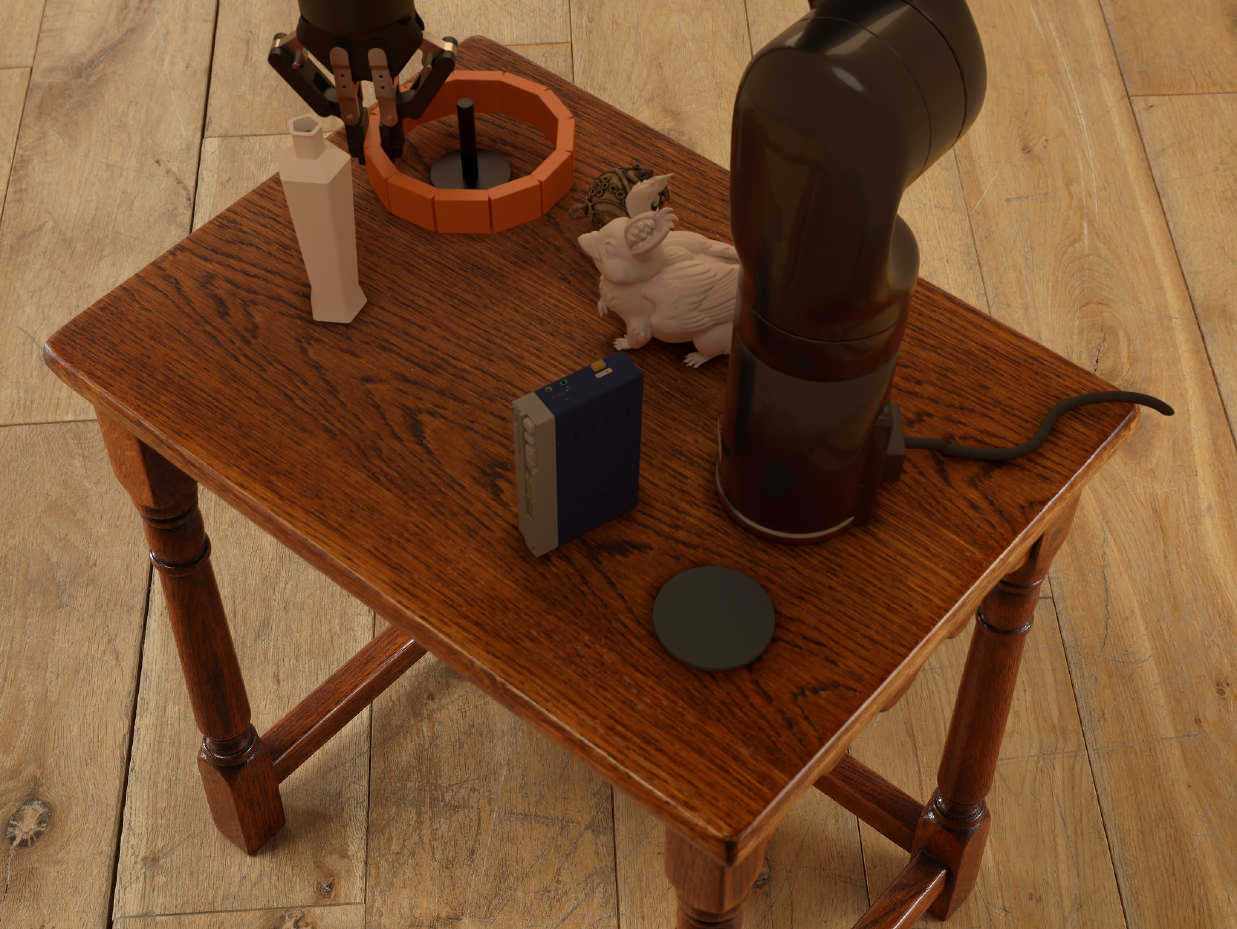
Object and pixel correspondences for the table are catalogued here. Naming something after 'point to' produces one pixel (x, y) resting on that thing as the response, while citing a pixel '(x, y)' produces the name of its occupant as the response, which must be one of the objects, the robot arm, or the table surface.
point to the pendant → (615, 195)
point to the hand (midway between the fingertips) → (379, 157)
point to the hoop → (494, 204)
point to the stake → (469, 159)
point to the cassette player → (578, 451)
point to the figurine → (664, 278)
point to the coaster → (713, 618)
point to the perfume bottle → (323, 218)
